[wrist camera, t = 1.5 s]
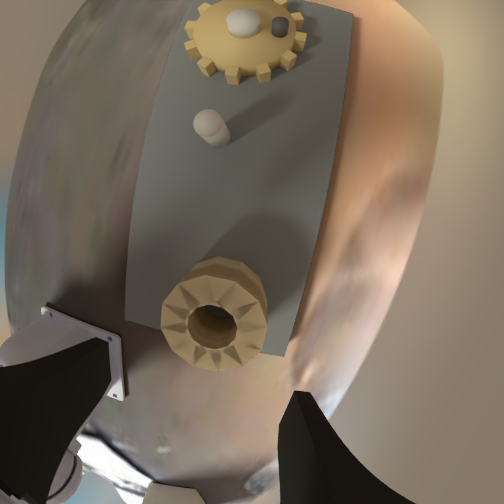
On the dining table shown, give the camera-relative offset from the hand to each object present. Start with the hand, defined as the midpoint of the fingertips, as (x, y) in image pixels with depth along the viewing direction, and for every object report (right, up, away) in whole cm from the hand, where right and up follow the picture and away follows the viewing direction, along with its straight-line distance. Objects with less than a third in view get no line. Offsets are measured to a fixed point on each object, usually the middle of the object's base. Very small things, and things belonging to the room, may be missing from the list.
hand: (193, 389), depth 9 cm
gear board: (+1, +12, +8) cm, 14 cm away
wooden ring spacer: (0, +2, +9) cm, 9 cm away
